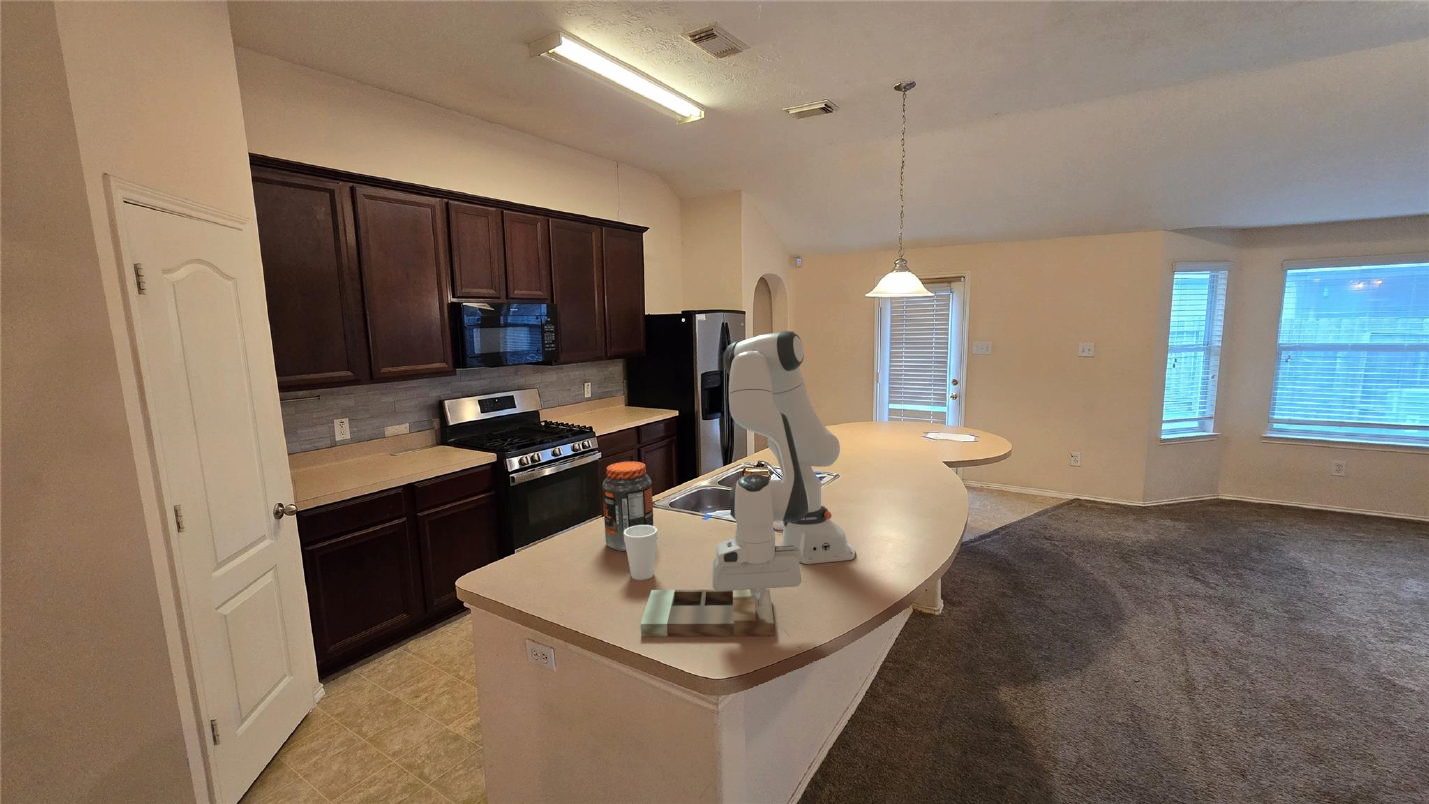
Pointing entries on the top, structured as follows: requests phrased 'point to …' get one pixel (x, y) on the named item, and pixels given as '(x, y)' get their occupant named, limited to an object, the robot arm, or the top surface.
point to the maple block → (743, 606)
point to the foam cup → (641, 550)
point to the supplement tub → (626, 501)
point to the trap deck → (702, 614)
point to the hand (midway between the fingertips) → (757, 604)
